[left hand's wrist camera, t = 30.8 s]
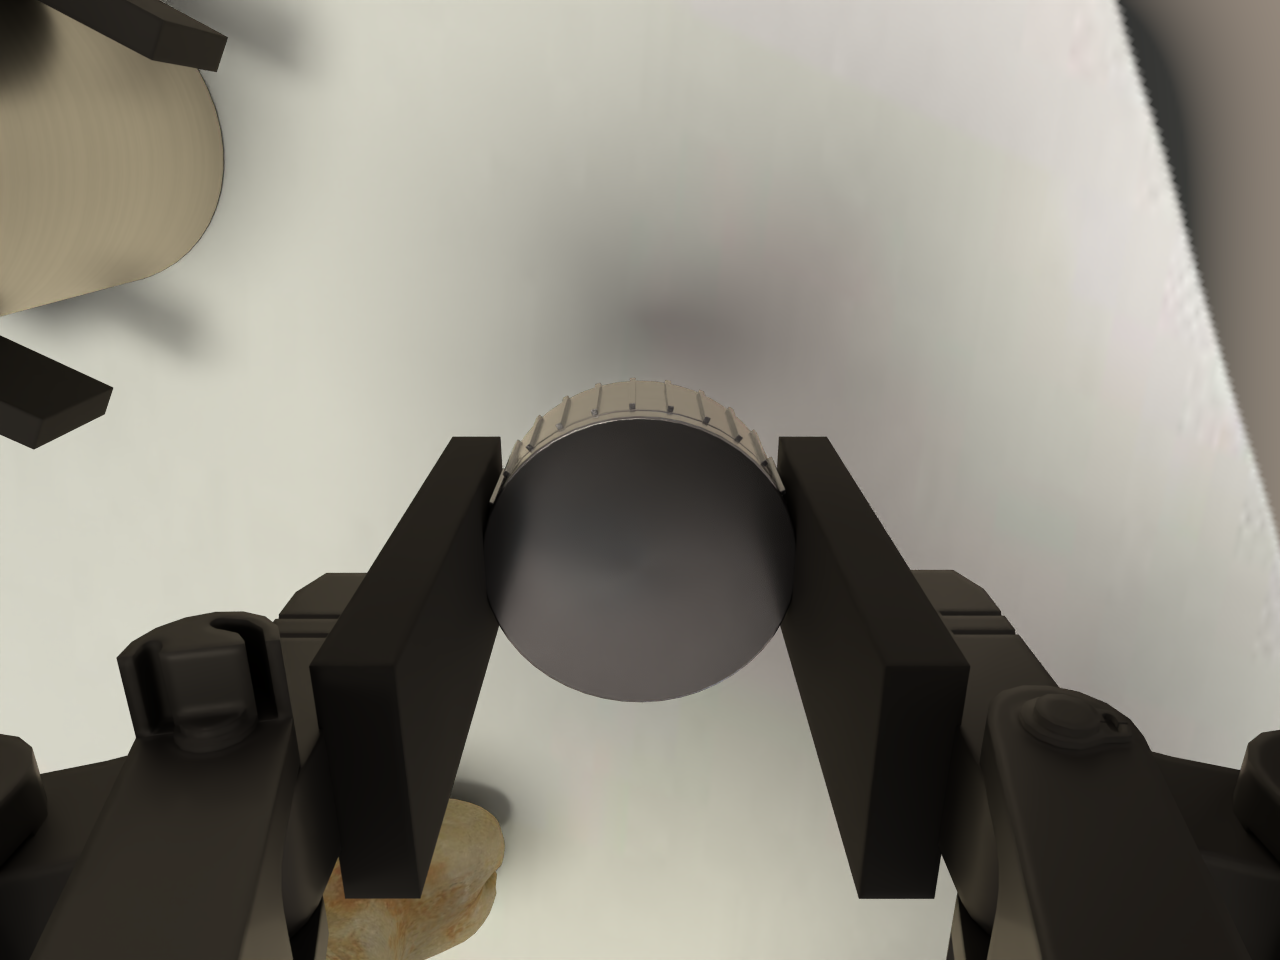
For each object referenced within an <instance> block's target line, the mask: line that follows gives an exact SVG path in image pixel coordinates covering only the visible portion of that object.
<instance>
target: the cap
mask: <svg viewBox="0 0 1280 960" xmlns="http://www.w3.org/2000/svg"><path fill="white" fill-rule="evenodd" d="M786 494H787V492H786V490H785V487H784V485H783V482H782V480H781V478H780V475H779V473H778V470H777V468H776V466H775V463H774V461H773V459H772V457H770V458H767V456H766V454H765V452H764V450H763V447H762V445H761V442H760V440H759V437H758V435H757V433H756V431H755V430H752V431H750V430H749V429H748V428H747V427H746V426H745V424H744V423H743V422H742V421H741V420H740V419H739V418H737V417H736V416H735V413H734V410H733V409H732V408H731V407H729V408H728V409H727V408H725V407H723V406H722V405H720V404H719V403H717V402H716V401H714V400H712V399H711V398H709V397H706V396H705V394H704V391H701V390H699V391H698V392H696V391H693V390H690V389H687V388H684V387H681V386H677V385H673V384H671V381H668V380H665V383H662V382H655V381H636V378H630V381H626V382H616V383H612V384H607V385H602V386H601V383H598V384H595V388H592V389H590V390H587V391H584V392H581V393H579V394H577V395H575V396H573V397H571V398H569V396H566V397H564V398H563V401H562V403H560V404H559V405H558V406H556V407H555V408H553V409H552V410H550V411H549V412H548V413H547V414H545V415H544V416H543V417H542V416H541V415H539V416H538V417H537V418H536V420H535V423H534V425H533V427H532V428H531V429H530V431H529V432H528V433H527V434H526V435H525V436H524V438H523V439H522V441H519V440H517V441H516V443H515V445H514V448H513V450H512V453H511V455H510V457H509V460H508V462H507V465H506V467H505V469H504V468H503V469H502V472H501V474H500V476H499V479H498V481H497V484H496V486H495V488H494V491H493V493H492V496H491V498H490V500H489V503H488V507H491V509H490V512H489V515H488V518H487V522H486V525H485V529H484V532H483V551H484V565H485V579H486V593H487V599H488V602H489V605H490V608H491V610H492V612H493V614H494V616H495V618H496V621H497V623H498V624H499V626H500V627H501V629H502V630H503V632H504V634H505V635H506V637H507V638H508V640H509V641H510V642H511V643H512V644H513V645H514V647H515V648H516V649H517V650H518V651H519V652H520V654H521V655H523V656H524V657H525V658H526V659H527V660H528V661H529V662H530V663H531V664H533V665H534V666H535V667H536V668H538V669H539V670H541V671H542V672H543V673H545V674H546V675H548V676H549V677H551V678H552V679H554V680H556V681H558V682H560V683H562V684H564V685H565V686H567V687H570V688H573V689H575V690H578V691H580V692H583V693H585V694H589V695H593V696H596V697H600V698H604V699H610V700H617V701H626V702H652V701H663V700H669V699H674V698H680V697H683V696H687V695H690V694H693V693H697V692H700V691H702V690H704V689H707V688H709V687H711V686H714V685H716V684H718V683H720V682H721V681H723V680H725V679H727V678H728V677H730V676H732V675H734V674H735V673H736V672H738V671H739V670H740V669H742V668H743V667H744V666H746V665H747V664H748V663H749V662H750V661H751V660H752V659H753V658H755V657H756V656H757V655H758V654H759V653H760V652H761V651H762V650H763V648H764V647H765V646H766V645H767V643H768V642H769V641H770V640H771V638H772V637H773V636H774V634H775V633H776V631H777V630H778V628H779V626H780V625H781V623H782V621H783V620H784V618H785V615H786V613H787V611H788V608H789V606H790V604H791V601H792V597H793V585H794V570H795V556H796V531H795V526H794V523H793V520H792V517H791V514H790V511H789V508H788V506H787V503H786V501H785V498H784V495H786Z"/></svg>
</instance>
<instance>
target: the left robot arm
mask: <svg viewBox="0 0 1280 960" xmlns="http://www.w3.org/2000/svg"><path fill="white" fill-rule="evenodd" d="M777 470H778V473H779V475H780V478H781V480H782V482H783V485H784V487H785V490H786V492H787V494H786V495H784V498H785V501H786V503H787V506H788V508H789V511H790V514H791V517H792V520H793V523H794V526H795V531H796V556H795V570H794V585H793V597H792V601H791V604H790V606H789V608H788V611H787V613H786V615H785V618H784V620H783V621H782V623H781V625H780V626H781V630H782V633H783V637H784V640H785V644H786V647H787V651H788V654H789V657H790V661H791V664H792V668H793V671H794V675H795V678H796V682H797V685H798V689H799V692H800V696H801V699H802V703H803V706H804V710H805V713H806V716H807V720H808V723H809V727H810V730H811V734H812V737H813V741H814V744H815V748H816V751H817V755H818V758H819V762H820V765H821V769H822V772H823V775H824V779H825V782H826V786H827V789H828V793H829V796H830V800H831V803H832V807H833V810H834V814H835V817H836V821H837V824H838V828H839V831H840V834H841V838H842V841H843V845H844V848H845V852H846V855H847V859H848V862H849V866H850V869H851V873H852V876H853V880H854V883H855V887H856V890H857V894H858V897H859V899H934V897H935V891H936V885H937V878H938V872H939V865H940V859H941V854H942V856H943V859H944V861H945V863H946V866H947V868H948V871H949V873H950V875H951V878H952V880H953V882H954V885H955V887H956V890H957V898H956V904H955V910H954V916H953V922H952V928H951V934H950V940H949V946H948V952H947V958H946V960H1280V730H1276V731H1270V732H1263V733H1261V734H1259V735H1258V736H1257V737H1256V738H1254V739H1253V740H1252V741H1251V742H1249V743H1248V746H1247V750H1246V753H1245V756H1244V760H1243V763H1242V766H1241V770H1237V769H1232V768H1227V767H1221V766H1216V765H1211V764H1206V763H1201V762H1196V761H1191V760H1186V759H1181V758H1176V757H1171V756H1167V755H1163V754H1160V753H1156V752H1152V751H1151V750H1150V748H1149V746H1148V744H1147V742H1146V740H1145V738H1144V736H1143V735H1142V733H1141V732H1140V731H1139V730H1138V728H1137V727H1136V726H1135V725H1134V723H1133V722H1132V721H1131V720H1130V719H1129V718H1128V717H1126V716H1125V715H1123V714H1122V713H1120V712H1119V711H1117V710H1116V709H1114V708H1113V707H1111V706H1110V705H1109V704H1107V703H1105V702H1102V701H1100V700H1097V699H1095V698H1092V697H1090V696H1088V695H1085V694H1083V693H1080V692H1077V691H1072V690H1068V689H1063V688H1059V687H1058V685H1057V684H1056V683H1055V681H1054V680H1053V679H1052V677H1051V676H1050V675H1049V674H1048V672H1047V671H1046V670H1045V668H1044V667H1043V666H1042V664H1041V663H1040V662H1039V660H1038V659H1037V658H1036V657H1035V655H1034V654H1033V653H1032V651H1031V650H1030V649H1029V647H1028V646H1027V645H1026V643H1025V642H1024V641H1023V639H1022V638H1021V637H1020V636H1019V635H1015V629H1014V628H1013V626H1012V625H1011V624H1010V622H1009V621H1008V620H1007V619H1006V617H1005V616H1001V611H1000V609H999V608H998V607H997V605H996V604H995V603H994V602H993V600H992V599H991V598H990V596H989V595H988V594H987V592H986V591H985V590H984V589H983V588H981V587H980V586H978V585H977V584H975V583H973V582H972V581H970V580H969V579H967V578H965V577H964V576H962V575H960V574H959V573H957V572H956V571H954V570H910V569H909V567H908V566H907V564H906V562H905V561H904V559H903V558H902V556H901V554H900V553H899V551H898V550H897V548H896V546H895V545H894V543H893V542H892V540H891V538H890V537H889V535H888V534H887V532H886V530H885V529H884V527H883V526H882V524H881V523H880V521H879V519H878V518H877V516H876V515H875V513H874V511H873V510H872V508H871V507H870V505H869V503H868V502H867V500H866V499H865V497H864V495H863V494H862V492H861V491H860V489H859V487H858V486H857V484H856V483H855V481H854V479H853V478H852V476H851V475H850V473H849V471H848V470H847V468H846V467H845V465H844V464H843V462H842V460H841V459H840V457H839V456H838V454H837V452H836V451H835V449H834V448H833V446H832V444H831V443H830V441H829V440H828V438H827V437H779V445H778V462H777ZM501 472H502V455H501V438H500V437H452V439H451V440H450V442H449V443H448V445H447V447H446V448H445V450H444V451H443V453H442V455H441V456H440V458H439V459H438V461H437V463H436V464H435V466H434V467H433V469H432V471H431V472H430V474H429V475H428V477H427V478H426V480H425V482H424V483H423V485H422V486H421V488H420V490H419V491H418V493H417V494H416V496H415V498H414V499H413V501H412V502H411V504H410V506H409V507H408V509H407V510H406V512H405V514H404V515H403V517H402V518H401V520H400V522H399V523H398V525H397V526H396V528H395V529H394V531H393V533H392V534H391V536H390V537H389V539H388V541H387V542H386V544H385V545H384V547H383V549H382V550H381V552H380V553H379V555H378V557H377V558H376V560H375V561H374V563H373V565H372V566H371V568H370V569H369V571H368V573H326V574H324V575H322V576H321V577H319V578H318V579H316V580H314V581H313V582H311V583H310V584H308V585H306V586H305V587H303V588H302V589H300V590H298V591H297V592H296V593H295V594H294V595H293V597H292V598H291V599H290V600H289V602H288V603H287V604H286V606H285V607H284V608H283V610H282V611H281V612H280V614H279V619H275V620H274V622H272V621H271V620H269V619H268V618H267V617H265V616H261V615H256V614H252V613H248V612H213V613H207V614H202V615H197V616H191V617H186V618H183V619H180V620H177V621H174V622H171V623H169V624H166V625H163V626H160V627H157V628H155V629H153V630H152V631H150V632H148V633H146V634H145V635H143V636H141V637H139V638H138V639H136V640H134V641H132V642H131V643H130V644H129V645H128V646H127V647H126V648H125V649H124V651H123V652H122V653H121V654H120V655H119V656H118V657H117V662H118V666H119V670H120V674H121V678H122V682H123V686H124V690H125V695H126V699H127V703H128V707H129V711H130V715H131V719H132V723H133V727H134V731H135V735H136V739H135V741H134V743H133V745H132V747H131V749H130V752H129V754H128V756H124V757H120V758H116V759H112V760H109V761H104V762H99V763H94V764H89V765H84V766H79V767H74V768H69V769H63V770H58V771H53V772H48V773H43V774H40V772H39V769H38V766H37V762H36V759H35V756H34V752H33V749H32V747H31V746H30V745H28V744H27V743H26V742H25V741H23V740H22V739H21V738H20V737H16V736H10V735H3V734H0V960H326V954H327V945H328V937H329V930H328V923H327V916H326V910H325V904H324V898H323V893H324V890H325V888H326V886H327V883H328V881H329V878H330V876H331V874H332V871H333V869H334V867H335V864H336V862H337V859H338V857H339V863H340V869H341V876H342V882H343V888H344V895H345V899H420V898H421V895H422V891H423V888H424V884H425V881H426V878H427V874H428V871H429V867H430V864H431V860H432V857H433V853H434V850H435V846H436V843H437V839H438V836H439V832H440V829H441V825H442V822H443V819H444V815H445V812H446V808H447V805H448V801H449V798H450V794H451V791H452V787H453V784H454V780H455V777H456V773H457V770H458V767H459V763H460V760H461V756H462V753H463V749H464V746H465V742H466V739H467V735H468V732H469V728H470V725H471V721H472V718H473V714H474V711H475V708H476V704H477V701H478V697H479V694H480V690H481V687H482V683H483V680H484V676H485V673H486V669H487V666H488V662H489V659H490V655H491V652H492V649H493V645H494V642H495V638H496V635H497V631H498V628H499V624H498V623H497V621H496V618H495V616H494V614H493V612H492V610H491V608H490V605H489V602H488V599H487V593H486V579H485V565H484V551H483V532H484V529H485V525H486V522H487V518H488V515H489V512H490V509H491V507H488V503H489V500H490V498H491V496H492V493H493V491H494V488H495V486H496V484H497V481H498V479H499V476H500V474H501Z"/></svg>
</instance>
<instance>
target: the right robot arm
mask: <svg viewBox="0 0 1280 960" xmlns="http://www.w3.org/2000/svg"><path fill="white" fill-rule="evenodd" d="M38 1H40V2H42V3H44V4H45V5H47V6H49V7H51V8H53V9H55V10H57V11H59V12H61V13H63V14H64V15H66V16H68V17H70V18H72V19H74V20H76V21H78V22H80V23H82V24H84V25H85V26H87V27H89V28H91V29H93V30H95V31H97V32H99V33H101V34H103V35H104V36H106V37H108V38H110V39H112V40H114V41H116V42H118V43H120V44H122V45H123V46H125V47H127V48H129V49H131V50H133V51H135V52H137V53H139V54H141V55H142V56H144V57H146V58H148V59H150V60H153V61H158V62H164V63H169V64H175V65H180V66H186V67H192V68H197V69H203V70H208V71H214V72H217V69H218V66H219V63H220V60H221V57H222V54H223V51H224V48H225V45H226V42H227V39H228V37H226V36H224V35H222V34H221V33H219V32H217V31H215V30H213V29H211V28H209V27H208V26H206V25H204V24H202V23H200V22H198V21H196V20H195V19H193V18H191V17H189V16H187V15H185V14H183V13H182V12H180V11H178V10H176V9H174V8H172V7H170V6H169V5H167V4H165V3H163V2H161V1H159V0H38ZM112 390H113V387H111V386H109V385H106V384H104V383H102V382H100V381H98V380H96V379H93V378H91V377H89V376H87V375H85V374H83V373H80V372H78V371H76V370H74V369H72V368H70V367H67V366H65V365H63V364H61V363H59V362H57V361H54V360H52V359H50V358H48V357H46V356H44V355H41V354H39V353H37V352H35V351H33V350H31V349H28V348H26V347H24V346H22V345H20V344H18V343H15V342H13V341H11V340H9V339H7V338H5V337H2V336H0V435H2V436H5V437H7V438H9V439H11V440H14V441H16V442H18V443H20V444H23V445H25V446H27V447H29V448H32V449H36V448H38V447H40V446H42V445H44V444H46V443H48V442H50V441H52V440H54V439H56V438H58V437H60V436H62V435H64V434H66V433H68V432H70V431H72V430H74V429H76V428H78V427H80V426H82V425H84V424H86V423H88V422H90V421H92V420H94V419H96V418H98V417H100V416H102V415H104V414H105V412H106V409H107V406H108V403H109V399H110V396H111V393H112Z"/></svg>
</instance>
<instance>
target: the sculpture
mask: <svg viewBox="0 0 1280 960" xmlns="http://www.w3.org/2000/svg"><path fill="white" fill-rule="evenodd" d="M504 849H505V844H504V838H503V834H502V831H501V828H500V825H499V823H498V821H497V819H496V818H495V817H494V816H493V815H492V814H491V813H489V812H488V811H487V810H485V809H483V808H482V807H480V806H477V805H475V804H472V803H469V802H465V801H461V800H458V799H449V801H448V805H447V808H446V812H445V815H444V819H443V822H442V825H441V829H440V832H439V836H438V839H437V843H436V846H435V850H434V853H433V857H432V860H431V864H430V867H429V871H428V874H427V878H426V881H425V884H424V888H423V891H422V895H421V898H420V899H345V895H344V888H343V882H342V876H341V869H340V863H339V857H338V859H337V862H336V864H335V867H334V869H333V871H332V874H331V876H330V878H329V881H328V883H327V886H326V888H325V890H324V893H323V898H324V904H325V910H326V916H327V923H328V930H329V937H328V945H327V954H326V960H425V959H427V958H430V957H432V956H434V955H437V954H439V953H441V952H444V951H446V950H448V949H450V948H452V947H454V946H456V945H458V944H460V943H462V942H464V941H465V940H467V939H468V938H470V937H471V936H472V935H474V934H475V933H476V931H477V930H478V929H479V928H480V927H481V925H482V924H483V923H484V921H485V920H486V918H487V916H488V915H489V913H490V911H491V908H492V905H493V903H494V899H495V896H496V878H497V873H496V870H497V869H498V868H499V867H500V866H501V864H502V860H503V856H504Z"/></svg>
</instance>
